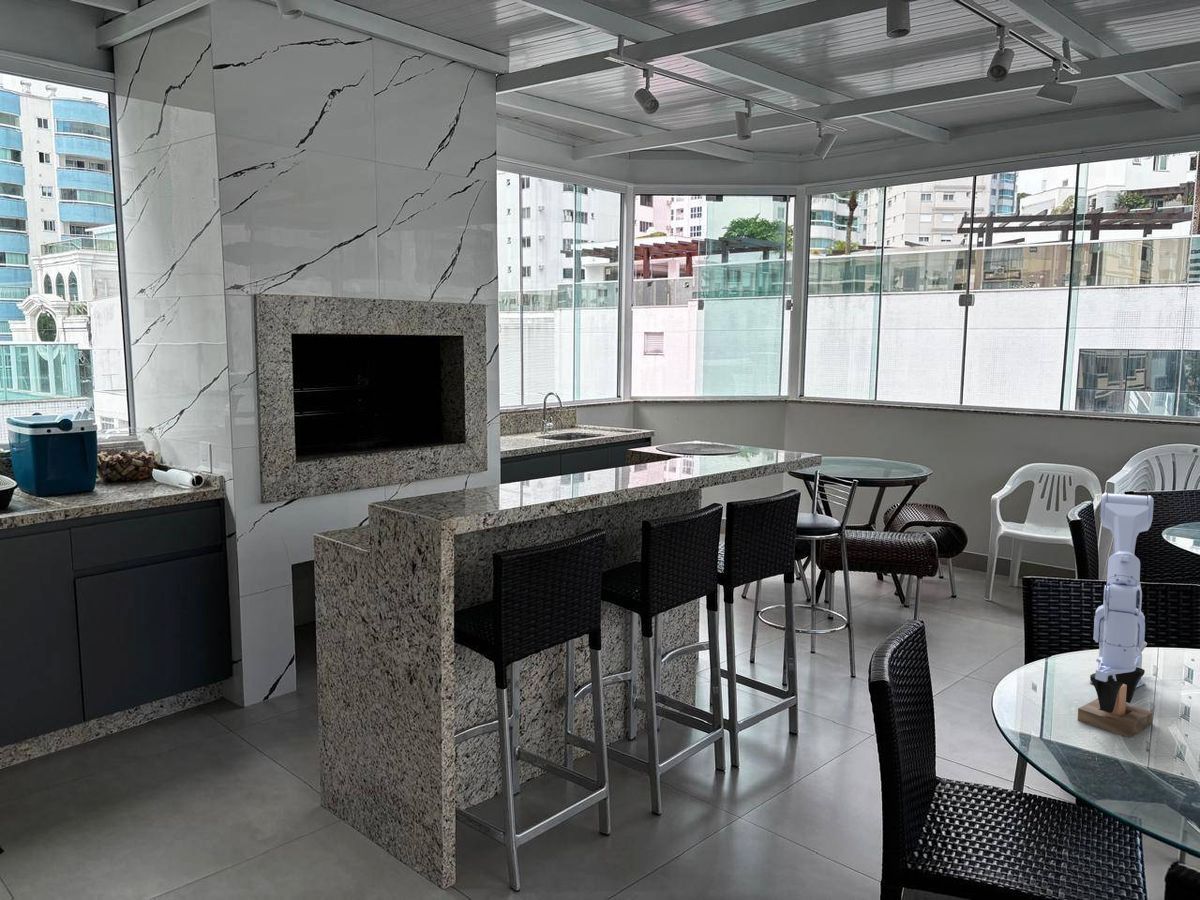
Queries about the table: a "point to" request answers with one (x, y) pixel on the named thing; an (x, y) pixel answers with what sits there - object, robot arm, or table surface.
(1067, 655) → the table surface
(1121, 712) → the peg
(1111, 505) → the robot arm
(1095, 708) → the socket
